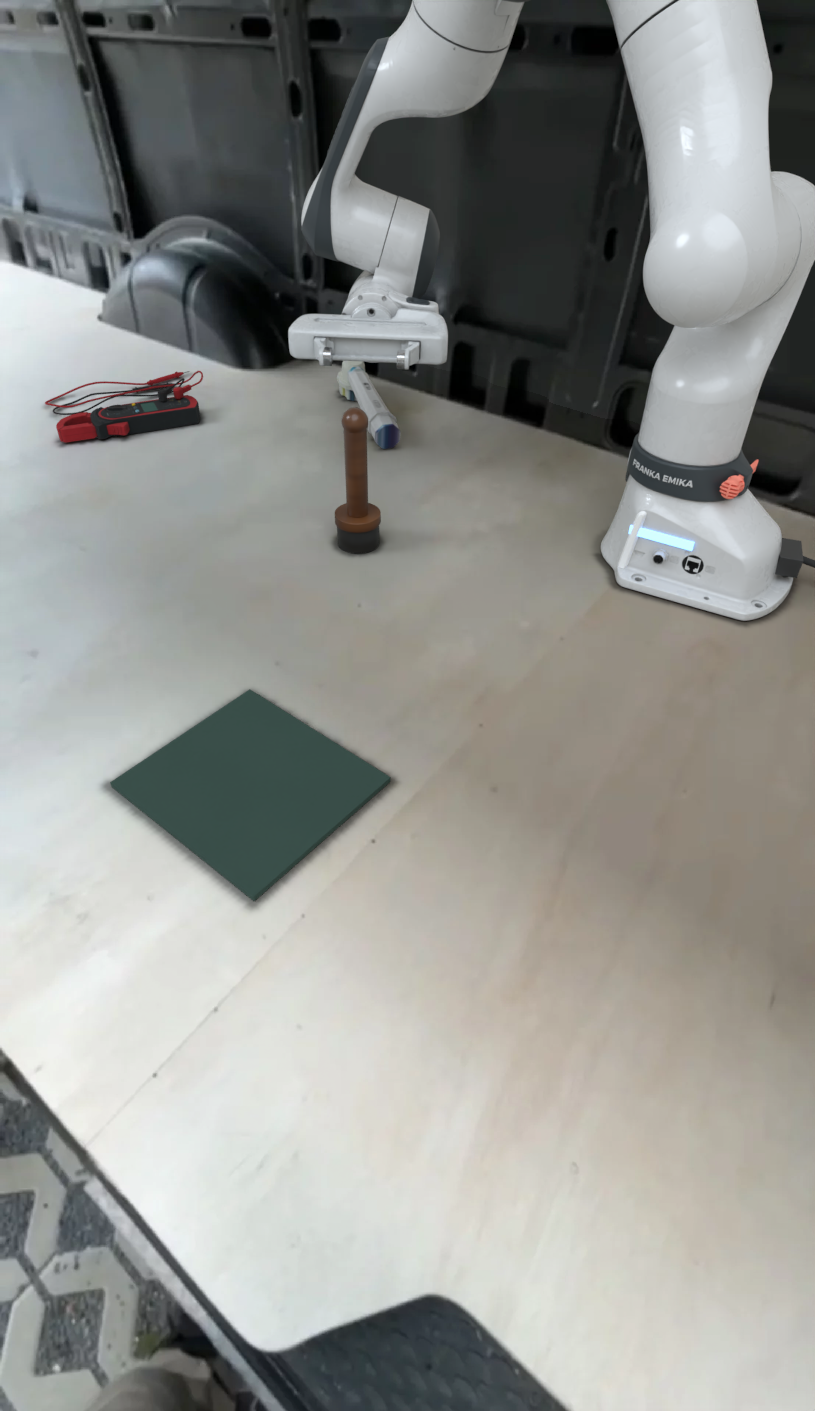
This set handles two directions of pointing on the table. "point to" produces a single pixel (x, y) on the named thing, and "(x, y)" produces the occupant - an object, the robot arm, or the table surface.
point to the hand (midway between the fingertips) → (363, 361)
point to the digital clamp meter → (131, 411)
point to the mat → (251, 790)
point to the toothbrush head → (368, 403)
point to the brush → (356, 490)
